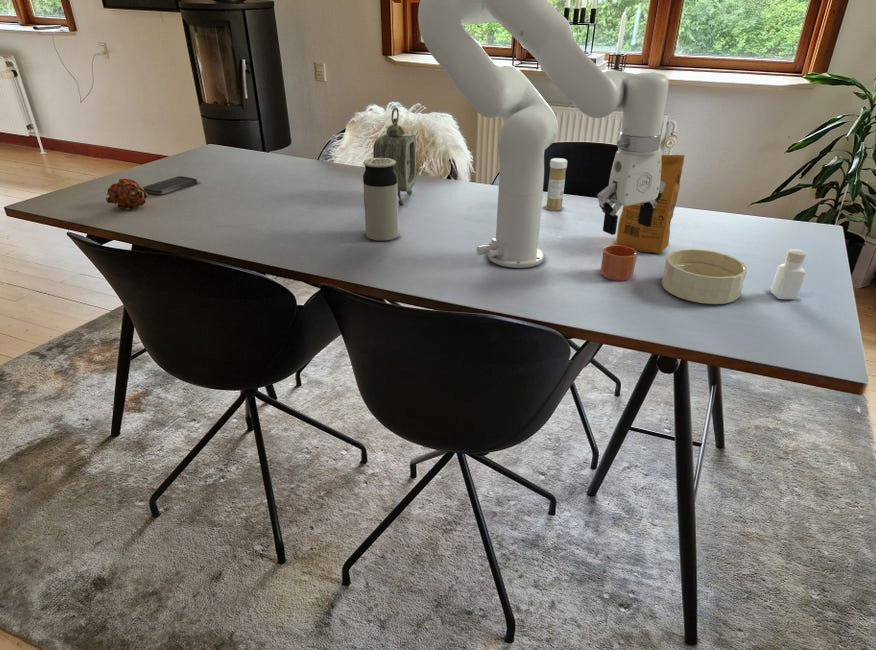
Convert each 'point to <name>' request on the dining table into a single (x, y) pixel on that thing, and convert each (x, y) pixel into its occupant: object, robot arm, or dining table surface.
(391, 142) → the weathered lantern
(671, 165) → the coffee package
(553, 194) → the sprinkles bottle
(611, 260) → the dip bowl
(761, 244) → the dining table surface
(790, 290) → the pepper shaker
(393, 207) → the travel mug
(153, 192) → the phone
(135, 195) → the brown knobby oval lump
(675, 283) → the serving bowl
